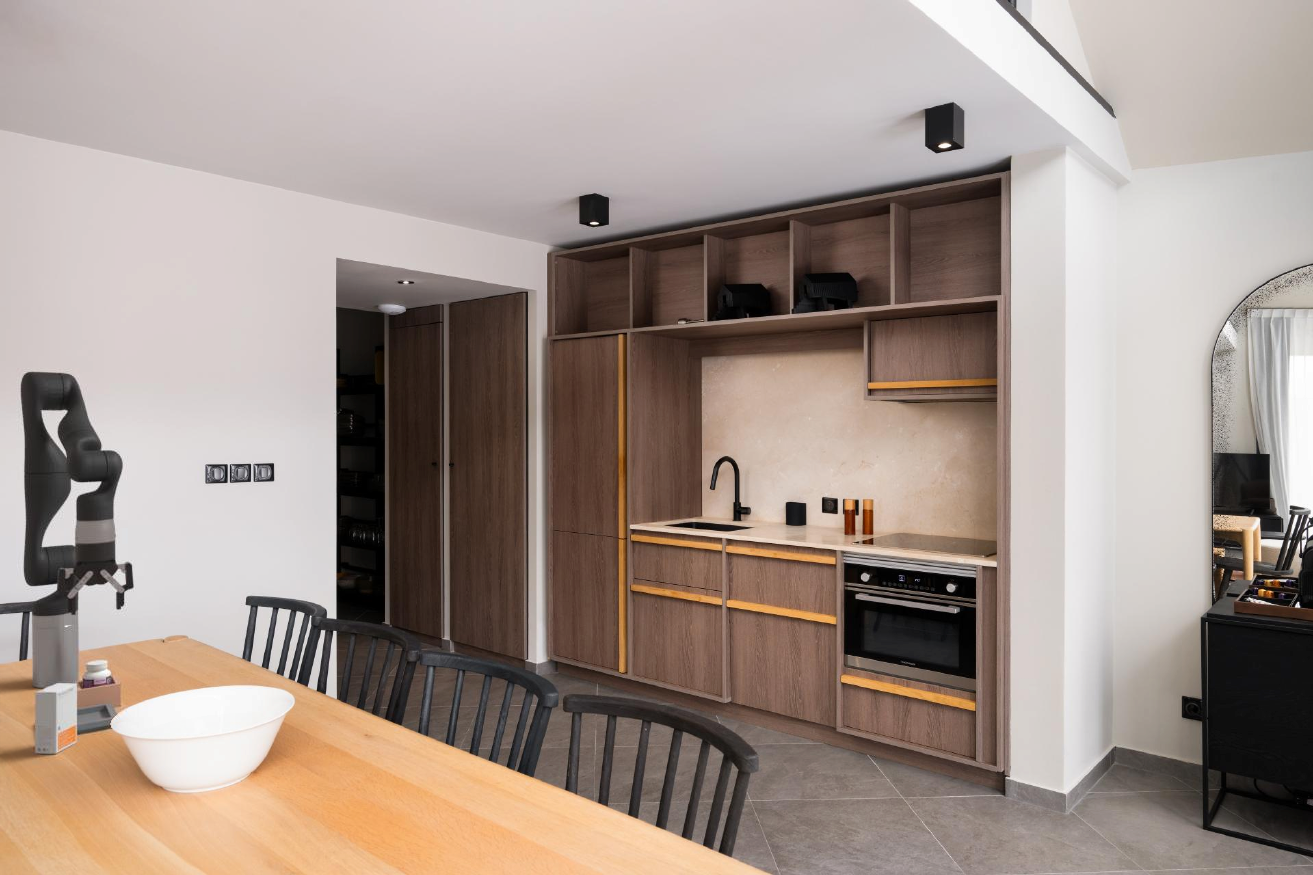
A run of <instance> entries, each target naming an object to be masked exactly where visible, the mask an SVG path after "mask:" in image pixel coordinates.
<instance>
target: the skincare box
mask: <svg viewBox="0 0 1313 875" xmlns="http://www.w3.org/2000/svg"><path fill="white" fill-rule="evenodd" d="M34 706H35V707H34V708H35V709H34V711H35V713H34V714H35V715H34V717H35V722H34V724H35V726H34V731H35V732H34V735H35V737H34V739H35V740H34V748H35V749H34V752H35V754H37V753H38V755H39V754H42V755H44V754H45V755H47V754H48V755H57V754H58V753H59V752H61V751H62V752H63V750H65V749H67V748H69V747H72V746H73V745H75V744H77V742H78V741H77V740H78V739H77V738H78V735H77V684H74V683H57V684H55V685H52V686H49V687H47V688H42V689H41V690H38V691H37V692H35V705H34Z"/></svg>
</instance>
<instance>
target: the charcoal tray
mask: <svg viewBox="0 0 1313 875" xmlns="http://www.w3.org/2000/svg"><path fill="white" fill-rule="evenodd" d="M116 715H118V713H117V711H116V708H115V707H113V704H112V702H111V703H105V704H99V705H93V706H88V707H82V708H77V736H78V735H84V734H89V733H93V732H94V733H95V732H99V731H104V730H109V729H110V730H111V729H112V728H111V725H110V723H111V720H112V719H113V718H114V717H115V716H116Z"/></svg>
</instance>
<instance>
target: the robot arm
mask: <svg viewBox="0 0 1313 875" xmlns="http://www.w3.org/2000/svg"><path fill="white" fill-rule="evenodd" d="M20 404H21V411H22V422H23V423H22V424H23V436H24V460H23V461H24V464H23V467H24V468H23V473H24V474H23V478H24V479H23V480H24V481H23V486H24V490H23V491H24V503H25V504H24V506H25V531H24V533H25V534H24V549H23V550H24V552H23V577H24V581H25V583H26V585H27V586H30V587H41V586H42V587H43V586H50V585H51V586H52V585H56V586H57V587H56V590H55V591H53V592H52V593H50V594H48V595H46V596H44V597H42V598H39V599H36V600H35V601H34V602H33V603H32V605H31V639H32V640H31V645H32V650H31V651H32V652H31V653H32V656H31V658H32V686H33V687H34V688H40V689H41V688H42V689H45V688H47V687H49V686H52V685H55V684H57V683H72V684H74V682H75V681H79V679H80V666H79V665H80V658H79V657H80V654H79V653H80V648H79V647H80V646H79V645H80V644H79V643H80V642H79V638H80V637H79V636H80V635H79V591H81V589H82V588H83V587H84V586H87V587H92V586H96V585H101V586H102V585H105V584H106V585H107V583H109V584H110V585H111V586H112V587H113V588H114V589H115V590H116V592H115V601H116V602H115V608H116V610H119V611H120V610H122V608H123V607H124V606H125V593H126V592H127V591H129V590H132V589H134V586H135V584H134V574H133V564H132V563H131V562H129V561H126V562H125V563H119V564H118V563H117V562H116V561H117V560H116V537H117V534H116V526H115V517H114V515H115V514H114V513H115V512H114V511H115V509H114V506H115V505H114V503H115V497H116V493H117V490H118V489H117V488H118V484H119V482H120V478H121V475H122V472H123V468H124V466H123V465H124V462H123V458H122V457H121V455H120V454H119V453H118V452H117V451H115V450H109V449H105V450H102V448H103V447H102V446H103V445H102V441H101V439H100V437H99V435H98V434H97V432H96V430H95V428H94V426H93V425H92V423H91V421H90V418H89V416H88V411H87V407H86V404H85V400H84V397H83V393H82V390H81V387H80V385H79V383H78V381H77V379H76V377H75V376H73V375H72V374H70V373H65V372H50V371H49V372H48V371H47V372H46V371H27V372H25V373H24V374H23V376H22V378H21V383H20ZM42 411H56V412H57V411H67V412H66V413H65V415H64V416H63V417H62V418H61V420H60V421H59V423H58V426H57V437H58V439H59V442H60V443H61V446H62V447H63V449H64V451H65V453H64V452H63V450H61V448H60V446H59V445H57V443H56V441H55V440H54V439H53V438H52V437H51V435H50V433H49V432H48V430H47V428H46V426H45V423H44V419H43V413H42ZM72 481H74V482H76V483H81V484H82V483H98V482H100V484H99V486H98V487H97V489H95V490H93V491H88V492H85V493H84V492H83V493H81V494H79V495H78V496H77V497H76V503H75V509H76V514H75V515H76V516H75V518H76V520H75V521H76V522H75V529H74V545H72V544H62V545H52V546H51V545H50V546H43V541H44V538H45V537H44V536H45V534H46V532H47V529H48V527H49V525H50V523H51V522H52V521H53V519H54V518H55V516H56V515H57V513H58V512H59V511H60V510H61V508H62V507H63V505H64V504H65V503H66V501H67V500H68V498H69V496H70V494H71V491H72ZM118 570H120V572H122V573H123V574H124V575H125V576H124V577H125V578H124V579H125V584H120V583H119V582H118V581H117V580H116V578H114V577H113V576H115V574H116V573H117V572H118Z"/></svg>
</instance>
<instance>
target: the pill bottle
mask: <svg viewBox="0 0 1313 875" xmlns="http://www.w3.org/2000/svg"><path fill="white" fill-rule="evenodd" d="M85 669H86V672H84V673H83V675H82V680H83V689H85V688H91V687H97V686H104V685H110V684H111V676H112V673H111V670H110V669H108V660H106V659H98V660H97V659H96V660H92V661H89V662H86V664H85Z"/></svg>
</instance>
